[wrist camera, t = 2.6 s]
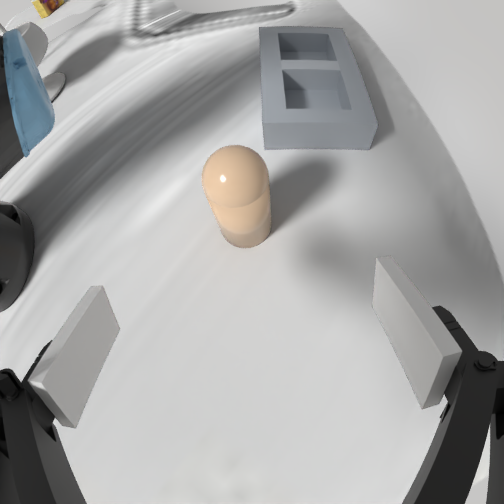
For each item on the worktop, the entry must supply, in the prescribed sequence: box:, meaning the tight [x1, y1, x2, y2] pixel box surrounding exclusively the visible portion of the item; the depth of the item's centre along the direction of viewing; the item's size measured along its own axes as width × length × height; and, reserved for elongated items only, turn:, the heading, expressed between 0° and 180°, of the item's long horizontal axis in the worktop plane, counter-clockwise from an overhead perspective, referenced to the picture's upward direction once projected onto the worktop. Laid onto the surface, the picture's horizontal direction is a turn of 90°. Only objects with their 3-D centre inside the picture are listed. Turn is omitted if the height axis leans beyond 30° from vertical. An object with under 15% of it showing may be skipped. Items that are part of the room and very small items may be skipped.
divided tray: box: [259, 26, 378, 150], centre depth 35 cm, size 12×20×4 cm, turn 0°
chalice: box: [14, 22, 66, 101], centre depth 36 cm, size 14×14×15 cm
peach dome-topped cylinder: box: [202, 145, 271, 248], centre depth 26 cm, size 5×5×11 cm
